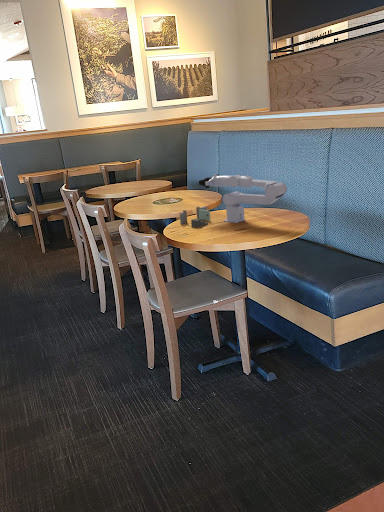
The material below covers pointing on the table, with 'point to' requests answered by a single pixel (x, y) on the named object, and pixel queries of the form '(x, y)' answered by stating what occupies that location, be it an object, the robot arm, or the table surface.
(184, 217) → the door frame
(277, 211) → the table surface
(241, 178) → the robot arm
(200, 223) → the wedge
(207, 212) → the door
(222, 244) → the table surface
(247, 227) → the table surface
